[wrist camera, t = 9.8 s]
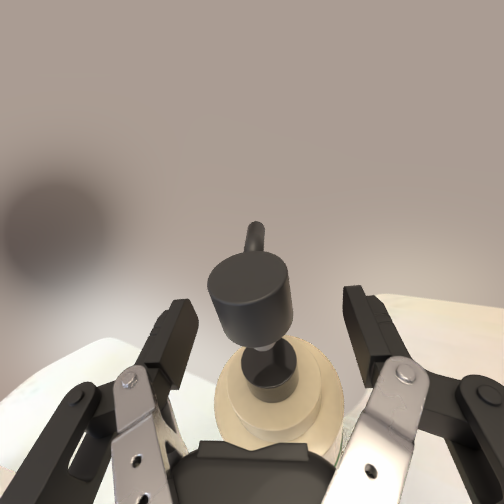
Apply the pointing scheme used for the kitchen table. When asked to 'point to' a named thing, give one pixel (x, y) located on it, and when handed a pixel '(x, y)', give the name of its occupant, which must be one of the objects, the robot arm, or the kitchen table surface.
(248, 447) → the dispenser
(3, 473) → the can
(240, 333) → the pump head
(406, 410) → the robot arm
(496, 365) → the kitchen table surface
